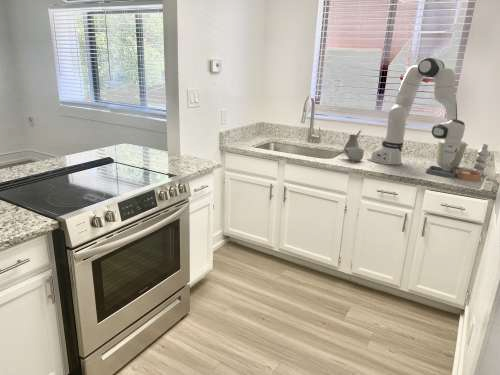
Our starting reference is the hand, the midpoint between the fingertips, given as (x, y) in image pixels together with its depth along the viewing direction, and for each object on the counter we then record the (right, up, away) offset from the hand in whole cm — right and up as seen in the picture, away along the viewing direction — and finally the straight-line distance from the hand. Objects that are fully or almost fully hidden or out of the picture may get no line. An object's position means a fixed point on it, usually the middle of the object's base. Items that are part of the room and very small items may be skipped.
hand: (446, 169), depth 233 cm
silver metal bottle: (+21, -5, +3) cm, 22 cm away
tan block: (+9, -5, -4) cm, 11 cm away
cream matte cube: (0, -1, 0) cm, 1 cm away
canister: (+12, +2, +23) cm, 26 cm away
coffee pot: (-43, +16, +53) cm, 70 cm away
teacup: (-50, +7, +28) cm, 58 cm away
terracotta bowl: (+11, -7, -5) cm, 13 cm away
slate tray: (-2, -3, +3) cm, 5 cm away
